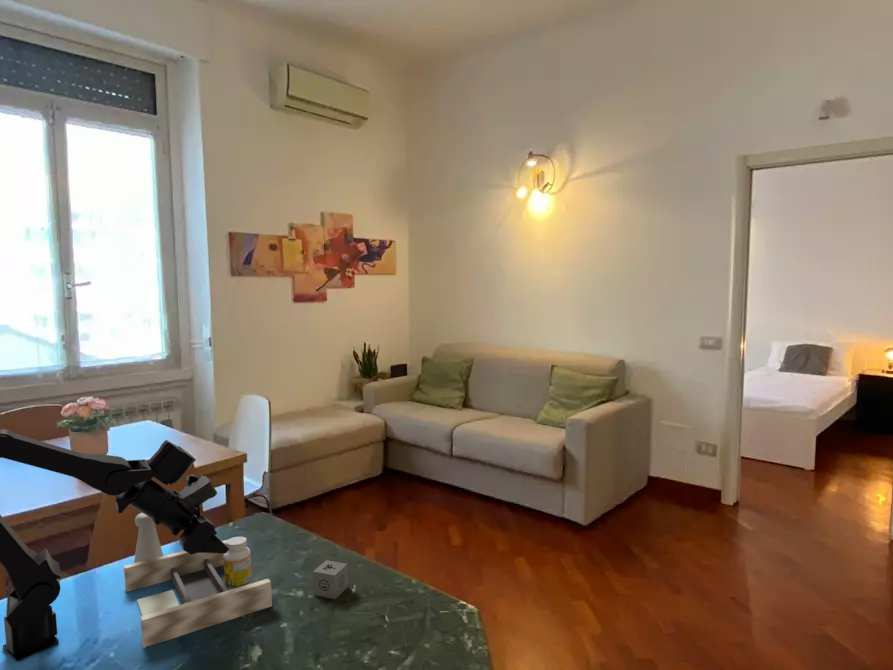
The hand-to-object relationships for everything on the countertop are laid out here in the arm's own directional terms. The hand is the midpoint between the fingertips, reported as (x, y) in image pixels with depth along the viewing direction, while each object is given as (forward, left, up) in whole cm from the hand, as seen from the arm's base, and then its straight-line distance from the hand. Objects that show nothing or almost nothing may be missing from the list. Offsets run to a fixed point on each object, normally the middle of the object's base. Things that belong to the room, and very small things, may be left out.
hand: (221, 542), depth 122 cm
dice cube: (+12, -19, -10) cm, 24 cm away
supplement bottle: (+3, -1, -10) cm, 11 cm away
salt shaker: (-5, +20, -10) cm, 23 cm away
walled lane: (-4, +1, -10) cm, 11 cm away
